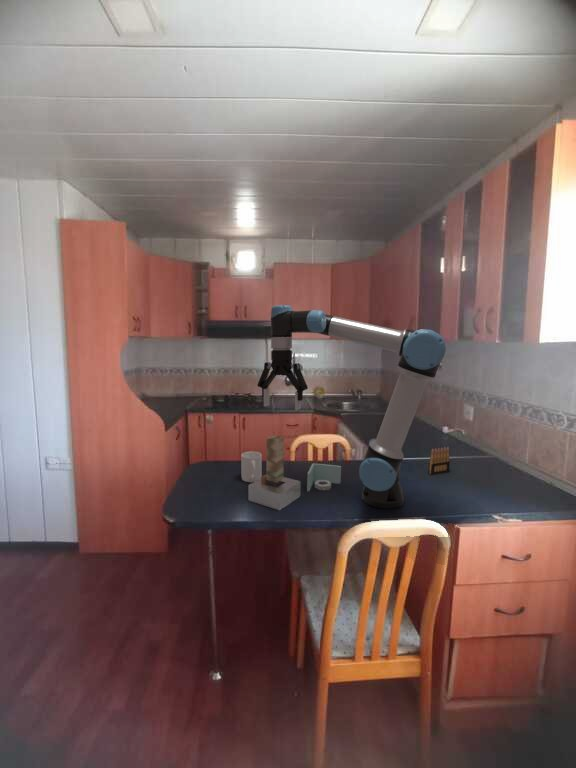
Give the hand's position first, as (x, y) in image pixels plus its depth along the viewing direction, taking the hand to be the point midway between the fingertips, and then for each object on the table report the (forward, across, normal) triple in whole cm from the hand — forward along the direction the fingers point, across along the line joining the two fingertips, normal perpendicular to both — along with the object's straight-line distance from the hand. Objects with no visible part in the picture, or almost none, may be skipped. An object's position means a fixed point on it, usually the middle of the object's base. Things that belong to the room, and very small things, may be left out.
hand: (281, 407), depth 134 cm
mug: (+34, +20, -7) cm, 41 cm away
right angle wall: (+35, -9, -18) cm, 40 cm away
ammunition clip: (+36, -45, -61) cm, 84 cm away
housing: (+34, +2, +2) cm, 35 cm away
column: (+27, +2, +2) cm, 27 cm away
